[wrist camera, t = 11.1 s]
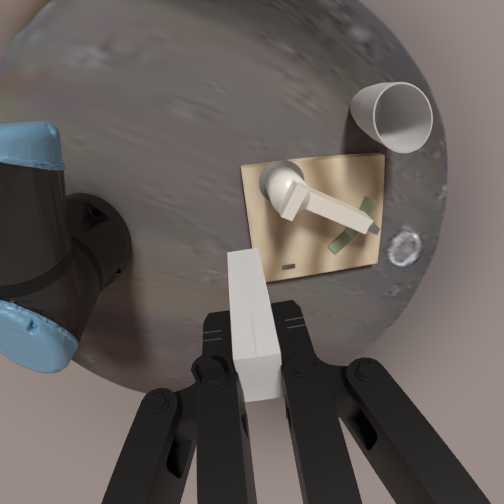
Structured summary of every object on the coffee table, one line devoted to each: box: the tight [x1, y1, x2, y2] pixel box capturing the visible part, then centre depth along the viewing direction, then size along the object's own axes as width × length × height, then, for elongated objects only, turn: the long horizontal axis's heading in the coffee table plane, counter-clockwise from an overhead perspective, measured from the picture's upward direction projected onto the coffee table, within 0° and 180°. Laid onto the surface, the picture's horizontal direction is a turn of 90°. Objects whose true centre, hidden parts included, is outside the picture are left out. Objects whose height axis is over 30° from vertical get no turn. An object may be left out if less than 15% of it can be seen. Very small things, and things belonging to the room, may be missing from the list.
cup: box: [350, 82, 433, 153], centre depth 31 cm, size 8×8×10 cm
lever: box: [265, 166, 380, 235], centre depth 37 cm, size 17×5×7 cm, turn 67°
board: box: [241, 153, 385, 282], centre depth 42 cm, size 20×18×2 cm
